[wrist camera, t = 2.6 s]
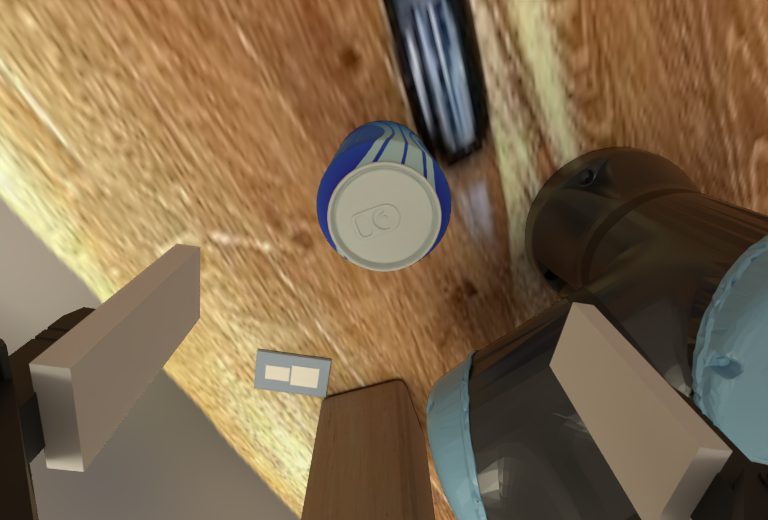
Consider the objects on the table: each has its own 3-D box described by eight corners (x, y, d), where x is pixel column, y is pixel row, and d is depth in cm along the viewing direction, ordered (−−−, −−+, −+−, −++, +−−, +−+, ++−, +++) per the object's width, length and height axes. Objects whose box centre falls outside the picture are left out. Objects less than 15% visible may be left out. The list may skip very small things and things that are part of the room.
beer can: (352, 105, 38) (335, 122, 23) (442, 138, 39) (481, 174, 24) (325, 195, 41) (294, 261, 26) (409, 223, 42) (426, 302, 27)
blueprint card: (331, 358, 48) (330, 361, 47) (325, 395, 49) (325, 398, 49) (257, 348, 47) (256, 351, 46) (255, 385, 49) (254, 388, 48)
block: (426, 439, 52) (452, 637, 34) (347, 458, 53) (330, 659, 35) (403, 374, 48) (419, 555, 30) (319, 396, 50) (284, 583, 31)
